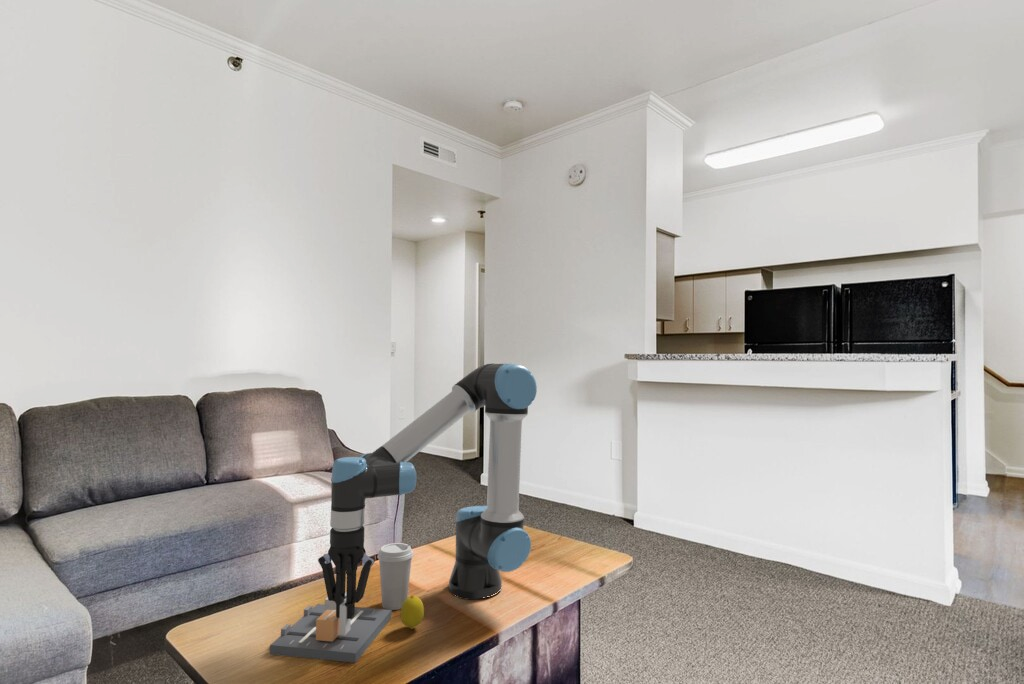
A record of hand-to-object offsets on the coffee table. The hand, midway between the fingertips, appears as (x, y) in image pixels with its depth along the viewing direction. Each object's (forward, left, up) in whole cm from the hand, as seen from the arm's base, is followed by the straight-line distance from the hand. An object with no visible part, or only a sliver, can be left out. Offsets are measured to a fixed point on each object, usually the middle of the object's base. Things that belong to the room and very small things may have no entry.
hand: (344, 632), depth 124 cm
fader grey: (+7, -10, -2) cm, 12 cm away
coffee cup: (-3, -23, -4) cm, 24 cm away
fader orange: (+4, 0, -2) cm, 4 cm away
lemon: (-12, -11, -4) cm, 17 cm away
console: (+5, -5, -4) cm, 8 cm away
